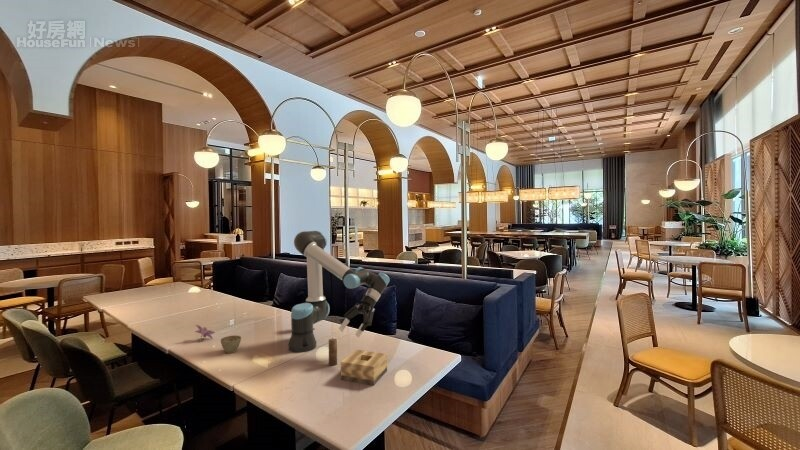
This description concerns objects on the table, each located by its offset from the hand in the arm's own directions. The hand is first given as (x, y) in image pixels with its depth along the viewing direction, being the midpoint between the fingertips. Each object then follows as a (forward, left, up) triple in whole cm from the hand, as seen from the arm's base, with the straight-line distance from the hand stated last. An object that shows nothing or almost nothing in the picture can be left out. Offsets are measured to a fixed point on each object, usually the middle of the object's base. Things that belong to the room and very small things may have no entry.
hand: (348, 333), depth 173 cm
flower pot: (-66, -12, -14) cm, 68 cm away
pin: (-5, -8, -13) cm, 16 cm away
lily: (-95, -3, -14) cm, 96 cm away
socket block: (+15, -13, -13) cm, 24 cm away
